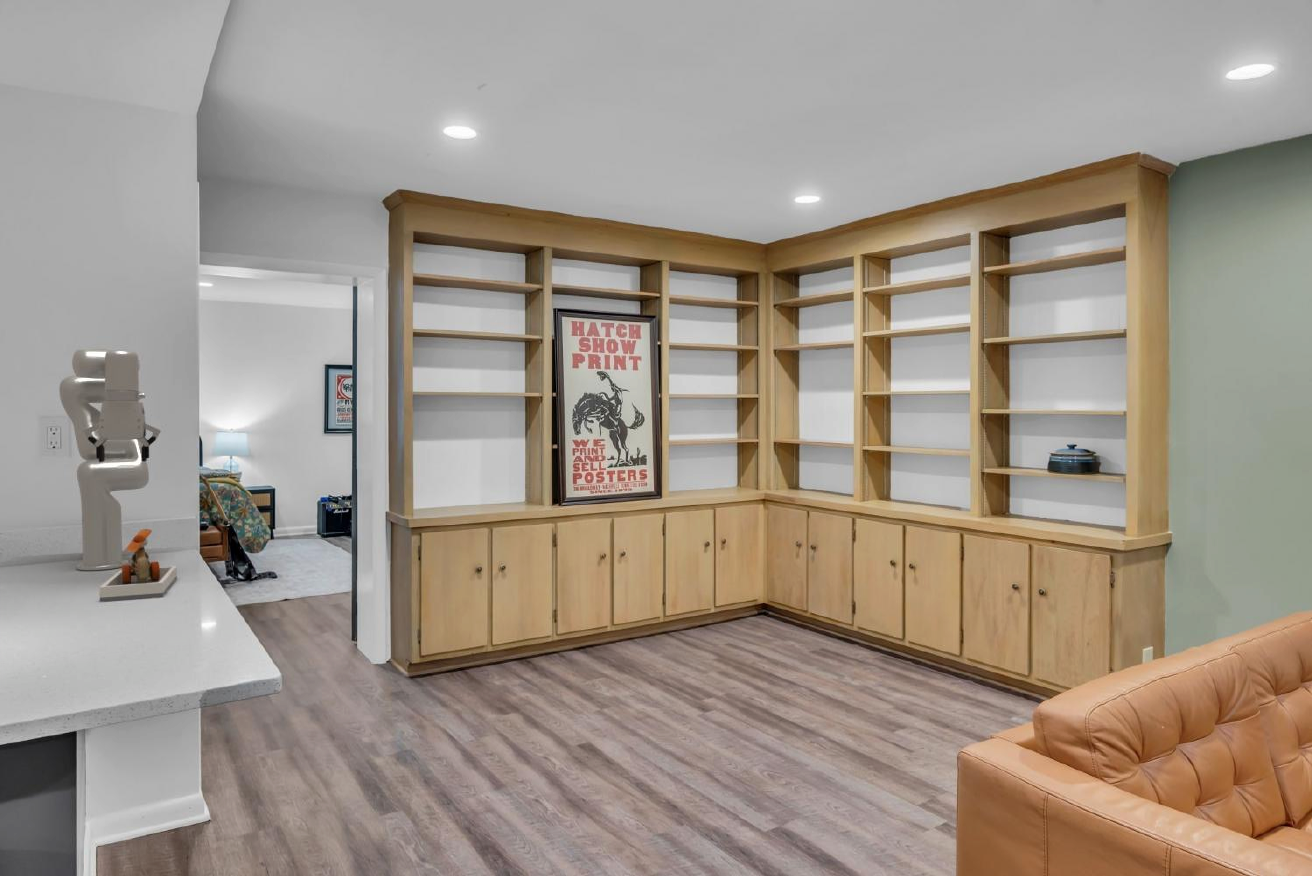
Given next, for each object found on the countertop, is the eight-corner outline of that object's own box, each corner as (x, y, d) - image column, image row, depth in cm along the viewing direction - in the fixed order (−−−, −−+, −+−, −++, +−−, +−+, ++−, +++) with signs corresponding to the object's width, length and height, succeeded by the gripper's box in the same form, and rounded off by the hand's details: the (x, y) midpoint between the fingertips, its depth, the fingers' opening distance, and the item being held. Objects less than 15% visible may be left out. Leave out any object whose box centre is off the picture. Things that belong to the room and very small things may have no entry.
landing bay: (120, 583, 214) (120, 570, 214) (176, 579, 220) (176, 566, 219) (99, 601, 193) (99, 587, 193) (162, 596, 198) (162, 582, 198)
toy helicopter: (158, 577, 217) (157, 526, 216) (165, 591, 200) (164, 536, 200) (121, 581, 212) (120, 529, 212) (125, 596, 195) (124, 539, 195)
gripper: (162, 397, 222) (163, 459, 223) (86, 396, 215) (88, 460, 216) (157, 398, 215) (158, 462, 216) (79, 396, 209) (80, 463, 209)
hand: (123, 461), depth 216 cm, fingers open, 9 cm apart
